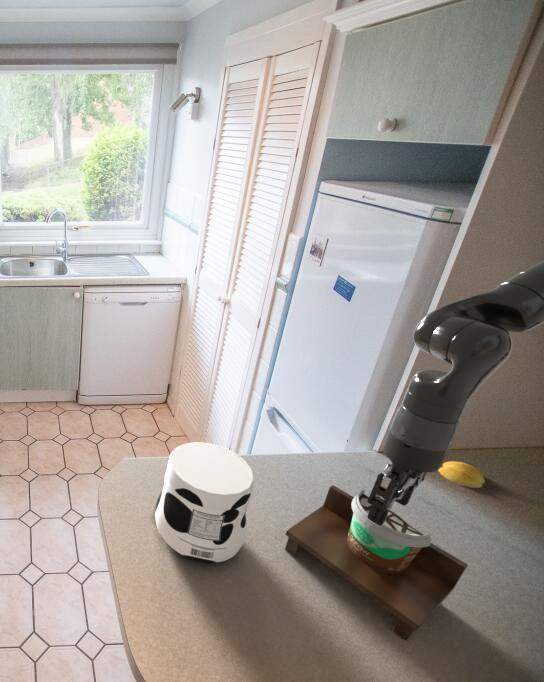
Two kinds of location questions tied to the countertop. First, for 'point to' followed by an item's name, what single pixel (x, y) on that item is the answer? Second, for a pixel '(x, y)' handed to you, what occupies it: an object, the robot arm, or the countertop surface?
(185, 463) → the milk container
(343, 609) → the countertop surface
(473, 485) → the yellow ridged fruit
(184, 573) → the countertop surface
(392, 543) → the food container
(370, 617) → the countertop surface
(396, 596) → the shelf
